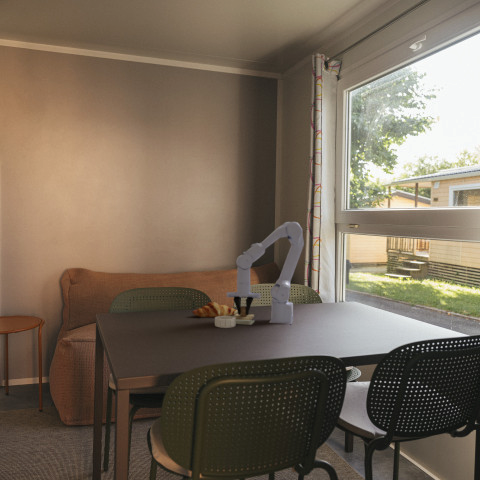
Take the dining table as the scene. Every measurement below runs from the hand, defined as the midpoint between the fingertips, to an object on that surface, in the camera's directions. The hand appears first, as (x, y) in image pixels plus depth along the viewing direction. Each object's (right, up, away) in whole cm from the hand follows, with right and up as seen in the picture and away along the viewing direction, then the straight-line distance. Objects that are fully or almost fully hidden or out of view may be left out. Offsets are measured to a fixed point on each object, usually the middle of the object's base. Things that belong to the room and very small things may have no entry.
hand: (243, 314), depth 194 cm
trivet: (0, -4, 0) cm, 4 cm away
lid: (0, -2, 0) cm, 2 cm away
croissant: (-13, -3, +13) cm, 19 cm away
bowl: (-8, -4, -6) cm, 11 cm away
